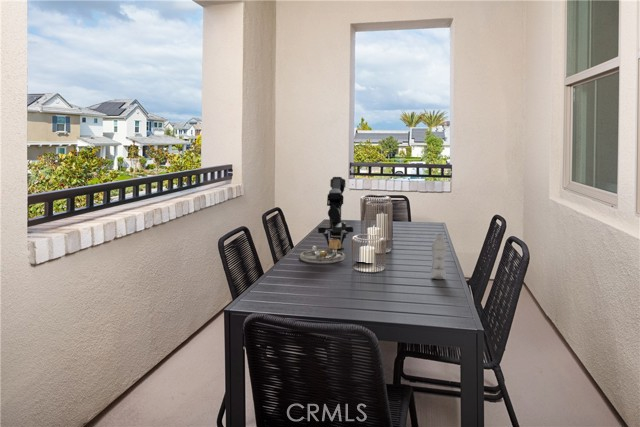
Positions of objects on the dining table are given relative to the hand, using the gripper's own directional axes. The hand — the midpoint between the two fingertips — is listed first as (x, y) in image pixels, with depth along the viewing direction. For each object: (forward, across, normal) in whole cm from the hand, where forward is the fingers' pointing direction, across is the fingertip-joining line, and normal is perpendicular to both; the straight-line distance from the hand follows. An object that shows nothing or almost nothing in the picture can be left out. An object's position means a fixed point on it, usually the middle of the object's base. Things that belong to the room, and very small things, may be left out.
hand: (334, 245), depth 253 cm
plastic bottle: (+7, +37, -47) cm, 61 cm away
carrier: (+7, -7, 0) cm, 9 cm away
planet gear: (+1, 0, 0) cm, 1 cm away
